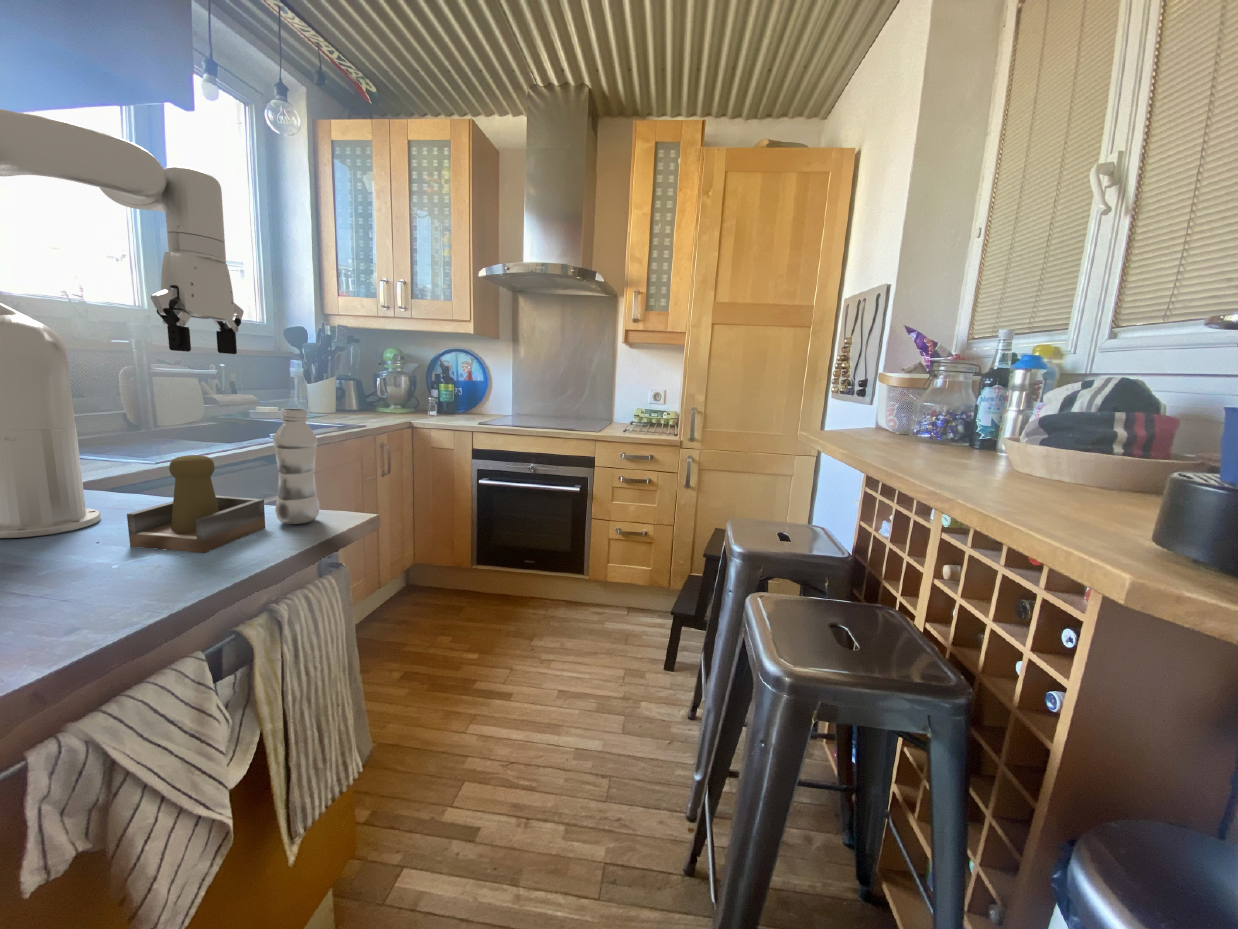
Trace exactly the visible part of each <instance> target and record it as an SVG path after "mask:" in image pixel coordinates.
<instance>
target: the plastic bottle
mask: <svg viewBox="0 0 1238 929" xmlns="http://www.w3.org/2000/svg"><path fill="white" fill-rule="evenodd" d="M307 412H308V411H307V409H304V408H290V407H289V408H281V410H280V414H281V416H280V421H282V424H281V425H280V426H279V428H278V429H277V431H276V432H275V434H274V436H273V438H272V444H273V445H272V446H273V449H274V454H275V458H276V459H275V460H276V466H277V471H278V474H277V475H278V484H277V490H278V491H277V498H276V502H275V514H276V518H277V519H278V521H279V522H280V523H282V524H286V525H299V524H306V523H311V522H313V521H315V520H316V519H317V518H318V516H319V513H320V501H319V497H318V494H317V486H316V478H315V477H316V476H315V473H316V471H315V469H316V456H317V449H318V446H317V445H318V438H317V435H316V433H315V432H314V431H313V430H312V428H311V427H310V426H309V425H308V424H307V421H308V420H309V418H308V415H307V414H308V413H307Z"/></svg>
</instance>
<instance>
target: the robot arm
mask: <svg viewBox="0 0 1238 929" xmlns="http://www.w3.org/2000/svg"><path fill="white" fill-rule="evenodd" d="M15 176H37V177H39V176H40V177H41V176H42V177H48V178H54V179H55V178H56V179H59V180H60V179H61V180H65V181H70V182H73V183H74V182H76V183H80V184H84V185H87V186H88V185H89V186H92V187H97V188H99V189H100V190H101V192H102V193H103V194H104V195H105V196H106V197H107V198H109V199H110V200H112V202H115V203H117V204H118V205H121V206H123V207H127V208H131V209H136V210H141V211H142V210H145V211H152V212H153V211H154V212H163V213H164V212H165V223H166V235H167V237H166V239H167V249H168V251H165V252H164V254H163V258H162V264H161V275H160V276H161V278H160V288H161V289H160V291H157V292H155V293H153V294H151V295H150V299H151V301H152V303H153V305H154V307H155V309H156V313H157V314H158V316H159V317H160V318H161V319H162V323H163V325H165V326H166V328H167V337H168V338H167V339H168V340H167V341H168V349H169V350H170V351H174V352H176V351H177V352H189V353H190V352H191V350H192V344H191V331H190V327H189V326H186V325H187V324H188V323H189V321H190V319H191V318H195V319H201V320H202V319H203V320H210V319H211V320H212V321H213V323H214V324H215V326H216V327H217V328H218V330H216V334H215V335H216V346H217V347H216V348H217V349H216V350H217V352H218V353H219V354H228V355H229V354H230V355H237V353H238V346H237V334H236V333H238V332H239V327H240V325H241V324H242V319H243V315H244V310H243V308H241V307H240V306H239V305H238V304H236V303H235V302H234V290H233V285H232V279H231V275H230V270H229V268H228V264H227V258H226V257H227V255H226V254H227V253H226V240H225V238H226V237H225V225H224V224H225V223H224V222H225V220H224V208H223V207H224V206H223V194H222V193H223V192H222V191H223V190H222V187H221V183H220V182H219V181H218V179H217V178H215V177H214V176H213V175H210V174H209V173H206V172H204V171H203V170H199V169H198V170H197V169H195V168H192V167H191V168H190V167H186V166H180V165H179V166H178V165H170V166H167V167H165V168H164V167H163V166H162V165H161V162H159V160H158V159H157V158H156V157H155V156H154V155H153V154H152V153H150V152H149V151H148V150H146V149H145V148H143V147H142V146H139V145H137V144H136V143H134V142H130V141H129V140H126V139H123V138H120V137H117V136H114V135H111V134H107V133H104V132H100V131H97V130H94V129H90V128H88V127H85V126H81V125H77V124H73V123H71V122H66V121H63V120H59V119H54V118H50V117H45V116H41V115H40V116H39V115H35V114H29V113H24V112H23V113H22V112H19V111H12V110H9V109H4V108H0V177H15ZM70 378H71V377H70V365H69V356H68V349H67V346H66V343H65V341H64V340H63V338H62V337H61V336H60V335H59V334H58V333H57V332H56V331H55V330H53V329H52V328H51V327H49V326H47V325H46V324H44V323H42V322H39V321H38V320H35V319H33V318H31V317H30V316H27V315H25V314H23V313H21V312H19V311H17V310H15V309H13V308H11V307H10V306H7V305H5V304H3V303H1V302H0V539H13V538H14V539H15V538H17V539H18V538H29V537H39V536H40V537H41V536H47V535H55V534H60V533H66V532H71V531H74V530H75V531H76V530H78V529H82V528H86V527H89V526H91V525H94V524H96V523H98V522H99V521H100V520H101V518H102V516H101V511H99V510H97V509H94V508H88V507H87V506H86V500H85V491H84V483H83V476H82V468H81V460H80V459H81V458H80V450H79V442H78V441H79V440H78V436H77V435H78V434H77V428H76V427H77V426H76V422H75V411H74V404H73V396H72V390H71V388H72V386H71V379H70ZM86 507H87V508H86Z"/></svg>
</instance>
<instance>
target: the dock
mask: <svg viewBox="0 0 1238 929" xmlns="http://www.w3.org/2000/svg"><path fill="white" fill-rule="evenodd" d="M215 497H216V501H217V505H218V509H219V512H217V513H213V514H210V515H207V516H204V517H201V518H198V519H195V522H196V532H176V531H173V530H172V529H171V522H172V511H173V500H171V501H169V502H165V503H162V504H159V505H154V506H150V507H147V508H144V509H140V510H139V509H138V510H136V511H132V512H128V513H127V514H126V520H127V528H128V538H129V547H130V548H137V547H140V548H139V549H149V548H157V549H156V550H161V549H166V550H165V551H173V552H185V551H188V552H187V553H197V554H198V553H199V554H206V553H209V552H210V551H213V550H216V549H218V548H221V547H223V546H226V545H228V544H230V543H233V542H235V541H237V540H239V539H243V538H245V537H247V536H250V535H252V534H254V533H257V532H259V531H261V530H264V529H266V518H265V517H266V516H265V514H266V513H265V499H262V498H250V497H242V496H241V497H238V496H229V495H228V496H226V495H216V494H215ZM225 544H226V545H225Z"/></svg>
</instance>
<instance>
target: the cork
mask: <svg viewBox="0 0 1238 929" xmlns="http://www.w3.org/2000/svg"><path fill="white" fill-rule="evenodd" d="M214 462H215V461H214V460H213V459H212V457H209V456H207V455H198V454H197V455H196V454H191V455H190V454H188V455H182V456H177V457H174V458H172V460H171V461H170V463H169V466H168V469H169V473H170V475H171V476H172V477H173V478H174V489H173V500H172V501H173V511H172V522H171V529H172V530H173V531H176V532H196V522H195V519H198V518H201V517H204V516H207V515H210V514H213V513H217V512H219V509H218V505H217V501H216V497H215V495H216V494H215V489H214V485H213V481H212V477H211V476H212V475H213V474H214V472H215V469H216V468H215V463H214Z"/></svg>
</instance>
